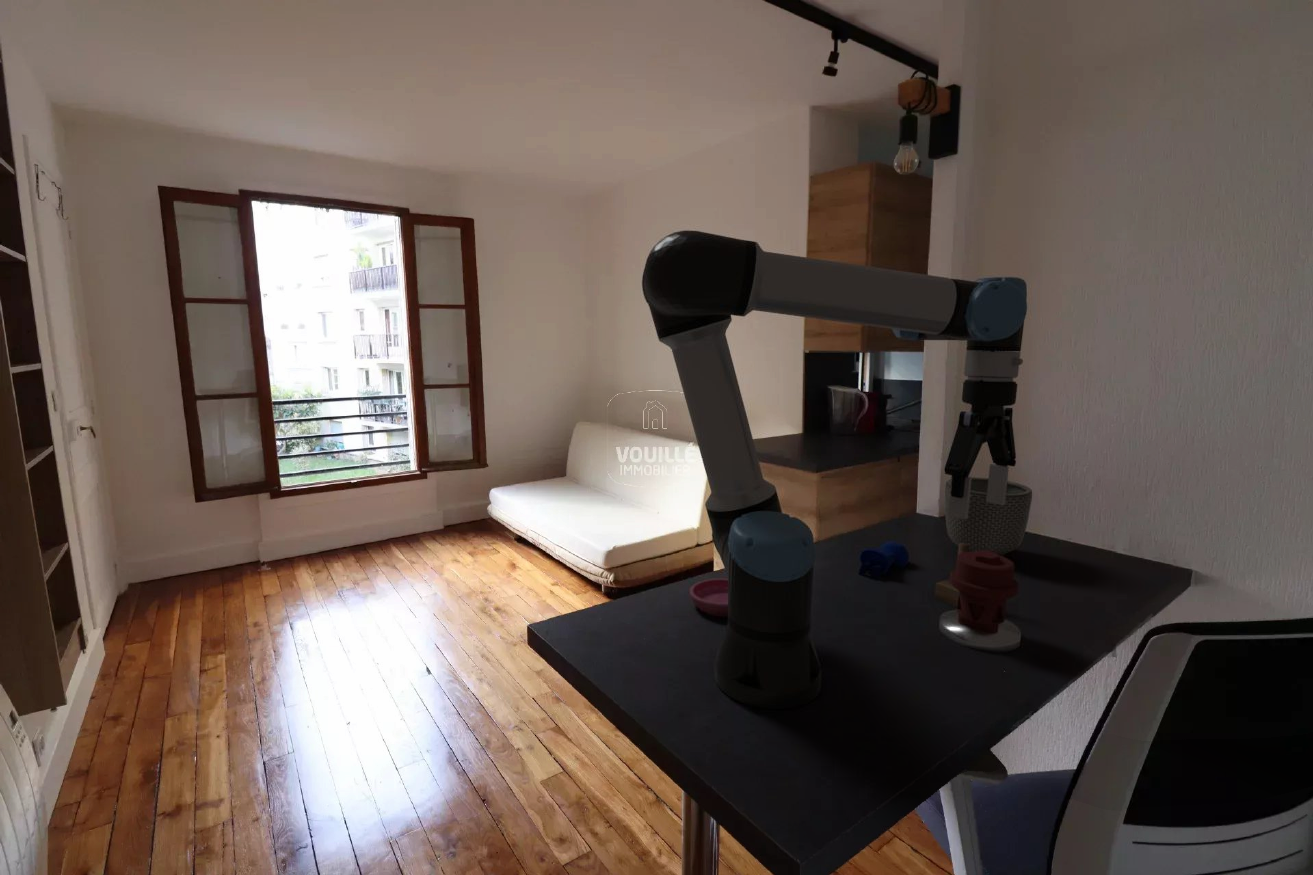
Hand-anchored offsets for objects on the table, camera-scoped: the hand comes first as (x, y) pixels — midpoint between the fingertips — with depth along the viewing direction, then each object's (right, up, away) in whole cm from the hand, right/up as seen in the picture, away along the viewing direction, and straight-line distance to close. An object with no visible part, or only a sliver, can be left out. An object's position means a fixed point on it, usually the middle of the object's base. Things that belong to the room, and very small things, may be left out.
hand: (977, 509), depth 100 cm
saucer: (-40, -20, +13) cm, 46 cm away
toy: (-3, -17, +32) cm, 36 cm away
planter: (+22, -15, +41) cm, 49 cm away
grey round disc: (+2, -21, +3) cm, 21 cm away
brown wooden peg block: (+5, -19, +15) cm, 25 cm away
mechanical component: (+2, -20, +3) cm, 20 cm away
